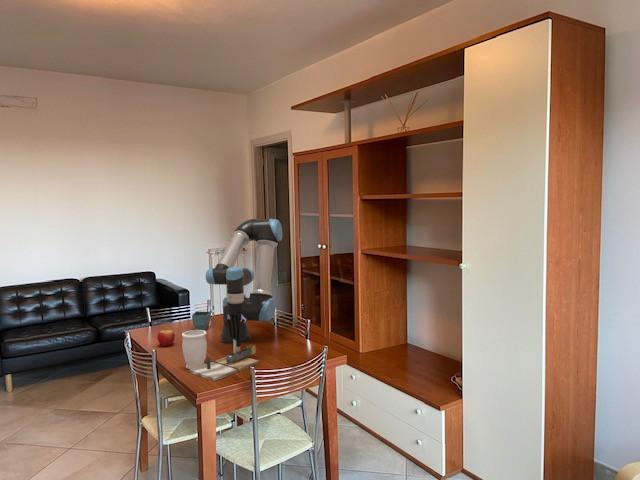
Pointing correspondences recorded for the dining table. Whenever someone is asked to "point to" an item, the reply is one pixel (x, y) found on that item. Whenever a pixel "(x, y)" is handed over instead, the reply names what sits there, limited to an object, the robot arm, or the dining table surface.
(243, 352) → the latch bar
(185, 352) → the jar
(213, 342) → the dining table surface
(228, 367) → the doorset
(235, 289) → the robot arm
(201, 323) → the flower pot
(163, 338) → the apple
